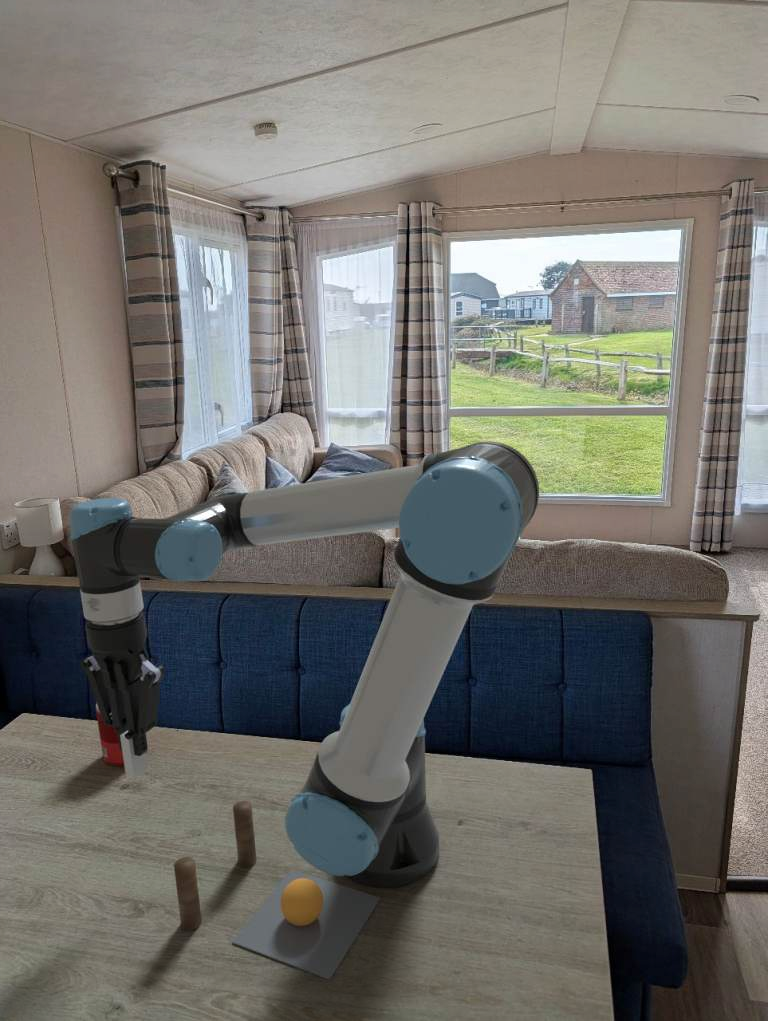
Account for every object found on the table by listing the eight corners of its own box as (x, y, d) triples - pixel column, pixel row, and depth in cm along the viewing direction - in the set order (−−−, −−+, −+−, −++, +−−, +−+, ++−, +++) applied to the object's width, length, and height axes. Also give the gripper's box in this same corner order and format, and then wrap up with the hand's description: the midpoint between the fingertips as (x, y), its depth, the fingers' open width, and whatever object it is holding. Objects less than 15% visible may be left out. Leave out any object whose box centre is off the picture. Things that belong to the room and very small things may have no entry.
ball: (303, 861, 100) (289, 887, 102) (280, 889, 95) (266, 915, 97) (336, 887, 98) (322, 913, 100) (315, 917, 93) (300, 944, 96)
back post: (259, 857, 110) (255, 803, 108) (249, 868, 108) (244, 814, 106) (245, 852, 111) (240, 799, 109) (234, 864, 109) (229, 809, 107)
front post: (205, 918, 99) (199, 860, 97) (193, 933, 97) (185, 873, 95) (189, 912, 100) (183, 854, 98) (177, 926, 98) (169, 867, 96)
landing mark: (380, 898, 101) (380, 897, 101) (329, 980, 89) (329, 978, 89) (291, 870, 107) (291, 869, 107) (232, 943, 95) (232, 942, 95)
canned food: (135, 769, 133) (127, 713, 131) (94, 765, 135) (86, 710, 132) (156, 745, 141) (149, 692, 138) (117, 742, 142) (109, 689, 140)
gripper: (56, 619, 99) (82, 777, 105) (132, 632, 94) (154, 798, 100) (99, 600, 106) (121, 750, 112) (172, 610, 100) (191, 767, 106)
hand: (137, 772), depth 106 cm, fingers closed
